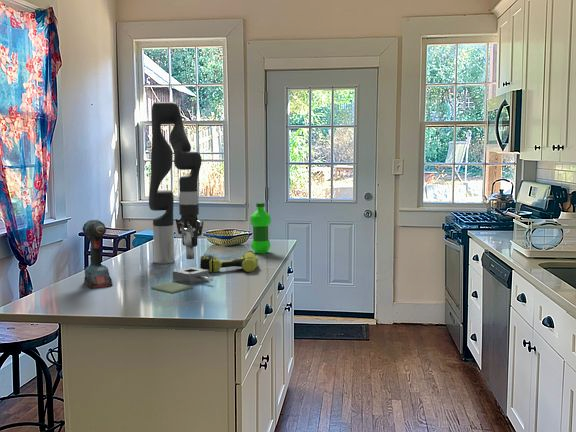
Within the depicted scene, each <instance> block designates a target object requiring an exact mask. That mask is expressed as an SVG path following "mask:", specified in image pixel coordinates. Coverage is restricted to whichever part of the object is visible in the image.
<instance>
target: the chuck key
mask: <svg viewBox="0 0 576 432" xmlns="http://www.w3.org/2000/svg"><path fill="white" fill-rule="evenodd" d="M194 234H195V231H194ZM182 236H184V245H185V246H184V245H183V246H184V247H185V255H186V257H185V258H186V260H194V259H195V250H194V249H195V248H194V247H192V235H191V232H190V231H189V230H187V231H184V232H182ZM182 236H181V237H182Z"/></svg>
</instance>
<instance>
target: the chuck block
mask: <svg viewBox="0 0 576 432" xmlns="http://www.w3.org/2000/svg"><path fill="white" fill-rule="evenodd" d="M209 275H210V273H209V270H205V269H200V267H192V266H191V267H185V268H182V269H181V268H180V269H177V270H172V282H174V283H179V284H184V285H188V286H192V285H194V284H198V283H204V282H206V281H209V282H213V281H214V278H213V277H210V276H209Z"/></svg>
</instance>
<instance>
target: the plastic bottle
mask: <svg viewBox="0 0 576 432" xmlns="http://www.w3.org/2000/svg"><path fill="white" fill-rule="evenodd" d="M255 206H256V208H257V209H256V210H255V211H254V212H253V213H252V214H251V216H250V224H251V226H252V231H253V232H252V233H253V235H252V237H253V239H252V241H251V249H252V250H253V252H254V253H255V254H258V253H263V254H266V253H267V252H269V251H270V249H271V242H270V240H269V226H270V225H271V222H272V218H271V215H270V214H269V212H267V211H265V210H264V207H265V206H266V204H265V202H256V204H255Z"/></svg>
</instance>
